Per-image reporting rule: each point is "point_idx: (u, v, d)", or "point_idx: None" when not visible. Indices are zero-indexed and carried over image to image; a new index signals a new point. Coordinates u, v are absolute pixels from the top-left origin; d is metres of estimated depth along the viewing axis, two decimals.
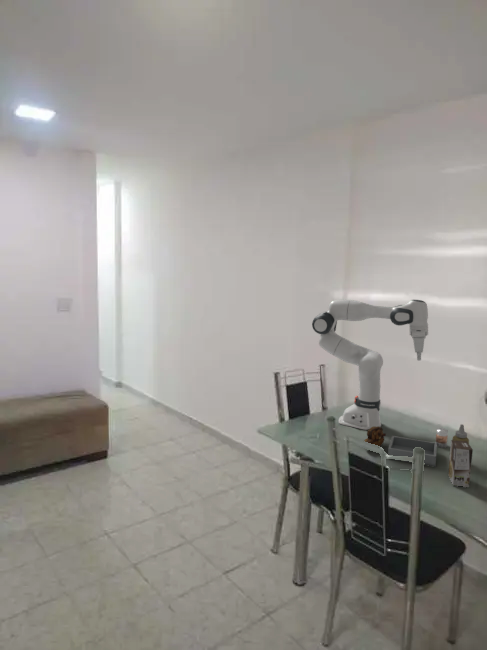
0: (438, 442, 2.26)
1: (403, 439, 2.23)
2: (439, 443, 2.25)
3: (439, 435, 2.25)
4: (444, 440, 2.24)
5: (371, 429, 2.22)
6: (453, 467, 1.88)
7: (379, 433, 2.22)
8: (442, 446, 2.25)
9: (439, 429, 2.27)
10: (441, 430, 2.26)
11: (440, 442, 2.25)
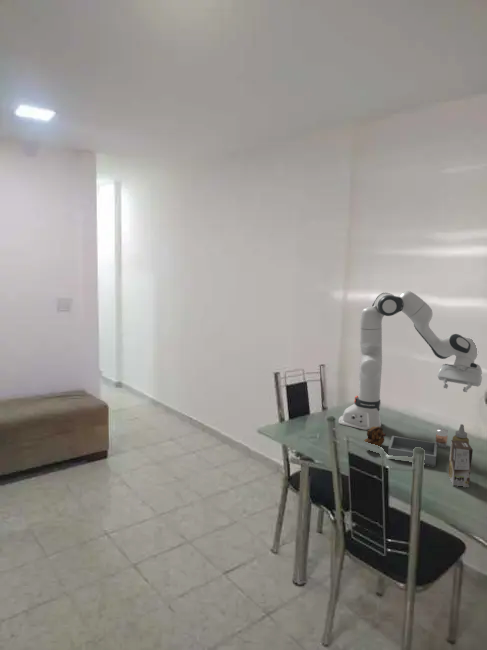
0: (438, 442, 2.26)
1: (403, 439, 2.23)
2: (439, 443, 2.25)
3: (439, 435, 2.25)
4: (444, 440, 2.24)
5: (371, 429, 2.22)
6: (453, 467, 1.88)
7: (379, 433, 2.22)
8: (442, 446, 2.25)
9: (439, 429, 2.27)
10: (441, 430, 2.26)
11: (440, 442, 2.25)
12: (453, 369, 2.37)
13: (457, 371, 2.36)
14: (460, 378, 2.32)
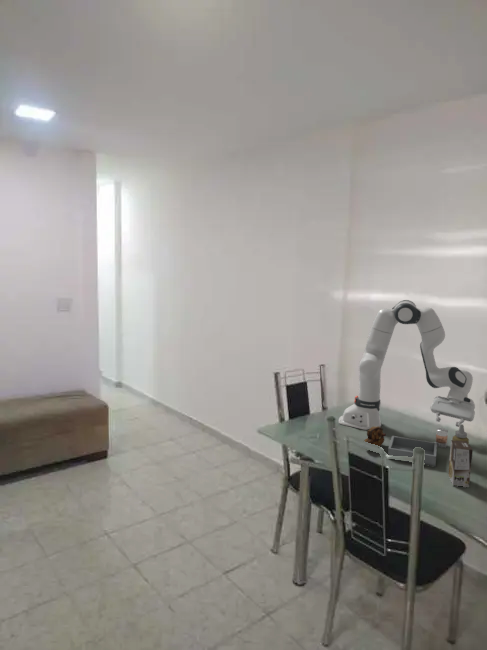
0: (438, 442, 2.26)
1: (403, 439, 2.23)
2: (439, 443, 2.25)
3: (439, 435, 2.25)
4: (444, 440, 2.24)
5: (371, 429, 2.22)
6: (453, 467, 1.88)
7: (379, 433, 2.22)
8: (442, 446, 2.25)
9: (439, 429, 2.27)
10: (441, 430, 2.26)
11: (440, 442, 2.25)
12: (446, 402, 2.35)
13: (450, 405, 2.34)
14: (453, 412, 2.30)
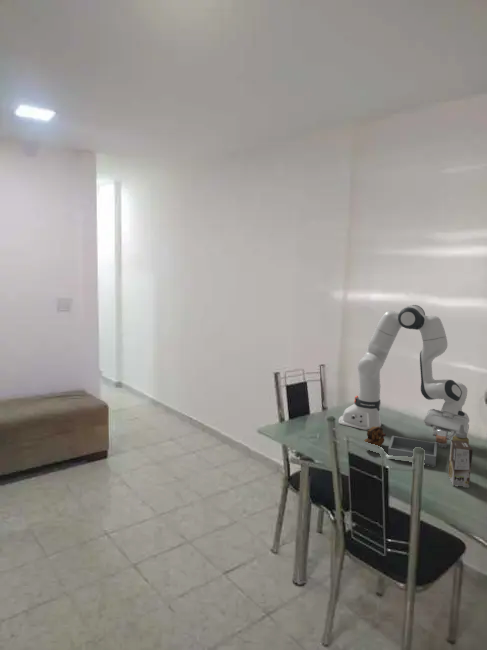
0: (438, 442, 2.26)
1: (403, 439, 2.23)
2: (439, 443, 2.25)
3: (439, 435, 2.25)
4: (444, 440, 2.24)
5: (371, 429, 2.22)
6: (453, 467, 1.88)
7: (379, 433, 2.22)
8: (442, 446, 2.25)
9: (439, 429, 2.27)
10: (441, 430, 2.26)
11: (440, 442, 2.25)
12: (440, 415, 2.31)
13: (444, 418, 2.30)
14: (447, 426, 2.26)
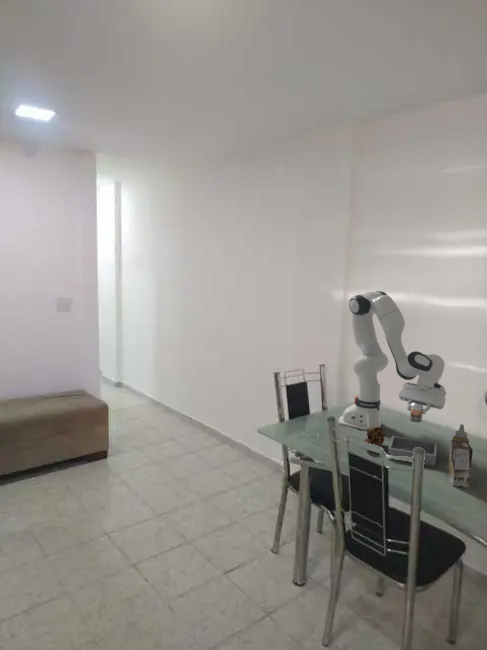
0: (413, 416, 2.11)
1: (403, 439, 2.23)
2: (413, 417, 2.11)
3: (414, 409, 2.11)
4: (419, 414, 2.10)
5: (371, 429, 2.22)
6: (453, 467, 1.88)
7: (379, 433, 2.22)
8: (417, 421, 2.11)
9: (414, 403, 2.13)
10: (416, 403, 2.11)
11: (414, 416, 2.11)
12: (415, 389, 2.17)
13: (419, 391, 2.16)
14: (422, 399, 2.12)
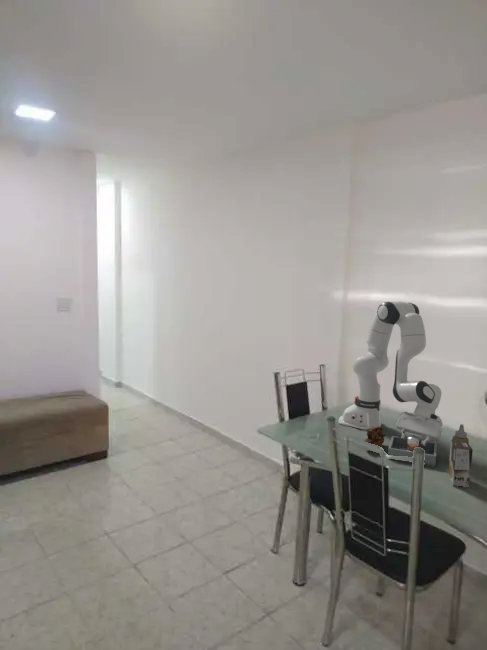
0: (409, 450, 2.14)
1: None
2: None
3: (410, 442, 2.13)
4: None
5: (371, 429, 2.22)
6: (453, 467, 1.88)
7: (379, 433, 2.22)
8: None
9: (410, 436, 2.15)
10: (412, 437, 2.14)
11: (411, 450, 2.13)
12: (412, 419, 2.19)
13: (416, 421, 2.18)
14: (419, 430, 2.14)
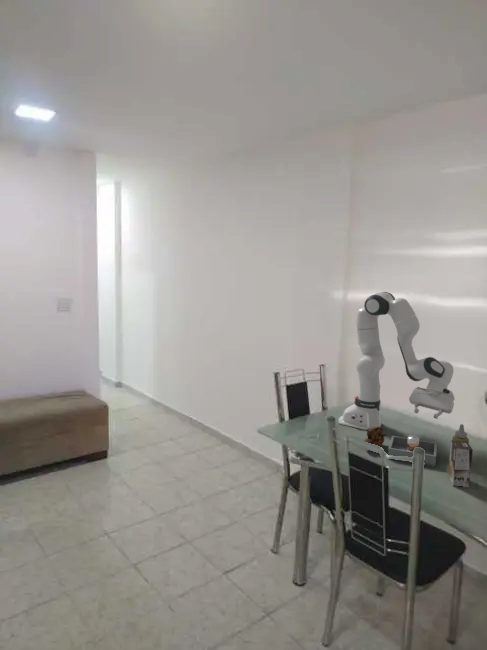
0: (409, 450, 2.14)
1: (403, 439, 2.23)
2: None
3: (410, 442, 2.13)
4: None
5: (371, 429, 2.22)
6: (453, 467, 1.88)
7: (379, 433, 2.22)
8: None
9: (410, 436, 2.15)
10: (412, 437, 2.14)
11: (411, 450, 2.13)
12: (425, 393, 2.29)
13: (429, 396, 2.27)
14: (431, 404, 2.24)
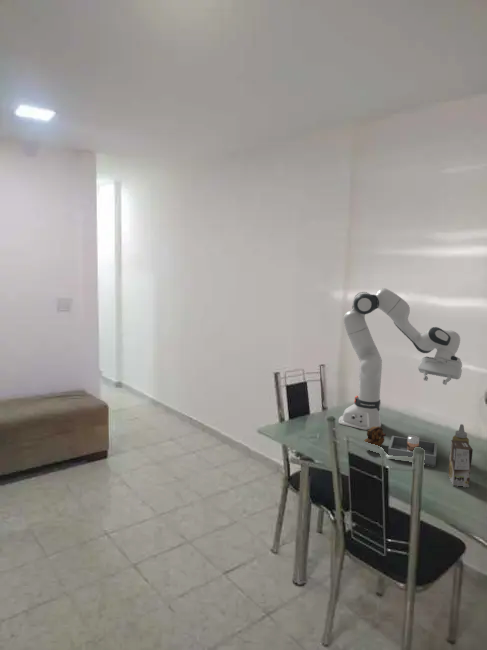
0: (409, 450, 2.14)
1: (403, 439, 2.23)
2: None
3: (410, 442, 2.13)
4: None
5: (371, 429, 2.22)
6: (453, 467, 1.88)
7: (379, 433, 2.22)
8: None
9: (410, 436, 2.15)
10: (412, 437, 2.14)
11: (411, 450, 2.13)
12: (434, 362, 2.37)
13: (437, 364, 2.35)
14: (440, 371, 2.32)
